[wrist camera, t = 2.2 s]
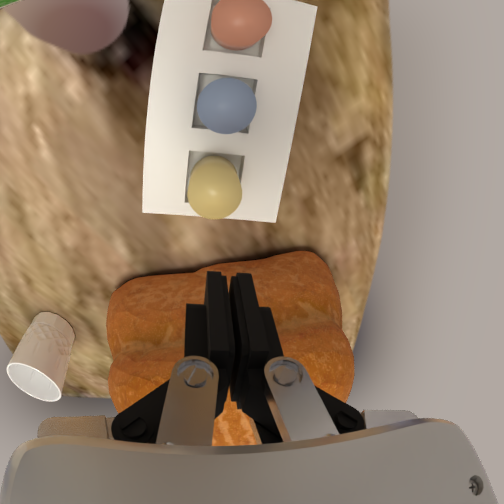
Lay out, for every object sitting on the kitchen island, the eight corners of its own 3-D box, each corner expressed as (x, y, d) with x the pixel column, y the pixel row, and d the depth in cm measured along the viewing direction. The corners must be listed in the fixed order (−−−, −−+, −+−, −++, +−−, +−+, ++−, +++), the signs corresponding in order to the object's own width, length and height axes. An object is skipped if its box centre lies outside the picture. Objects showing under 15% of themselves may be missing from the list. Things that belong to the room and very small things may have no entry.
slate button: (202, 76, 21) (201, 74, 17) (252, 82, 22) (261, 82, 18) (195, 124, 23) (193, 131, 19) (245, 129, 24) (251, 137, 20)
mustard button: (192, 153, 24) (189, 165, 21) (240, 158, 25) (246, 171, 21) (188, 198, 26) (185, 217, 23) (233, 201, 27) (238, 221, 23)
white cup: (25, 304, 33) (-3, 357, 24) (72, 311, 35) (50, 370, 26) (39, 342, 37) (19, 394, 28) (83, 350, 38) (68, 406, 30)
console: (172, -4, 19) (167, -16, 16) (304, 14, 21) (317, 6, 18) (148, 198, 29) (142, 212, 26) (268, 207, 31) (275, 222, 28)
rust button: (215, 3, 18) (216, -11, 14) (265, 11, 18) (276, -2, 15) (207, 47, 20) (206, 40, 16) (257, 54, 20) (266, 48, 17)
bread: (323, 333, 42) (365, 436, 28) (146, 362, 41) (137, 470, 26) (327, 238, 34) (401, 353, 19) (103, 277, 33) (60, 403, 18)
